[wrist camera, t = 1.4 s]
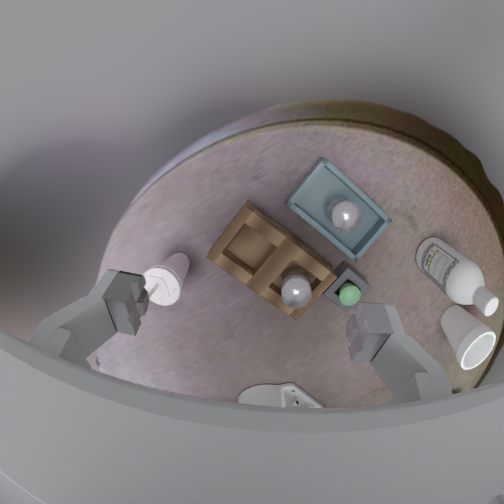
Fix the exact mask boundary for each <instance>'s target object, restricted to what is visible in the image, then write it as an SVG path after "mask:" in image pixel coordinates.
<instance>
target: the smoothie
mask: <svg viewBox="0 0 504 504" xmlns="http://www.w3.org/2000/svg"><path fill="white" fill-rule="evenodd" d="M189 266H190V261H189V258H188V257H187V256H186V255H185V254H183V253H175V254H173V255H172V256H170V257H169V258H167V259H166V260H164V261H163V262H161V263H160V264H158V265H155V266H152V267H150V268H149V269H148V270H147V271H146V272H145V273H144V275H143V276H145V280H146V284H145V286H144V288H145V289H146V290H147V291H148V295H149V299H150V300H151V301H153V302H154V303H156V304H159V305H164V306H166V305H171V304H173V303H175V302H176V301H177V300H178V299H179V298H180V296H181V294H182V285H183V282H184V280H185V277H186V274H187V272H188V269H189Z"/></svg>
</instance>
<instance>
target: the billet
mask: <svg viewBox="0 0 504 504" xmlns="http://www.w3.org/2000/svg"><path fill="white" fill-rule="evenodd" d="M325 213H326V215H327V217H328V218H329V220H330V221H331V222H332V223H333V225H334V226H335V227H336V228H337V229H338V230H339V231H340V232H342V233H352V232H354V231H356V230H357V229H358V228H359V227H360V226H361V224H362V221H363V214H362V211H361V209H360V208H359V206H357V205H356V204H355V203H353V202H352V201H350V200H349V199H347V198H346V197H344V196H340V195H337V196H334V197H332V198H330V199H329V200H328V201H327V203H326V206H325Z"/></svg>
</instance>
